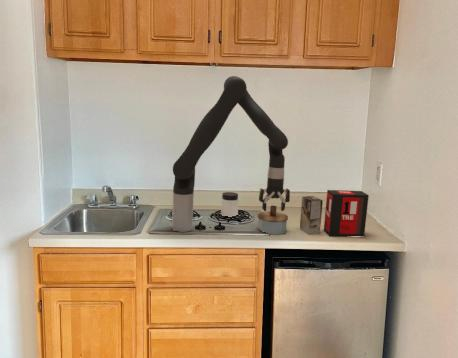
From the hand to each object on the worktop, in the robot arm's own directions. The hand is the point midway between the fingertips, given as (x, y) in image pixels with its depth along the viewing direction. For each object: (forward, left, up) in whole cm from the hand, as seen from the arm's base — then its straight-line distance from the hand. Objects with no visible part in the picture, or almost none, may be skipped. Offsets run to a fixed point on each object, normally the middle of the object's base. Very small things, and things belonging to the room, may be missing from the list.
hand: (273, 210), depth 200 cm
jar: (-16, +24, -10) cm, 30 cm away
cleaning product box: (+33, -7, -10) cm, 35 cm away
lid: (0, 0, -4) cm, 4 cm away
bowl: (0, 0, -10) cm, 10 cm away
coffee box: (+18, -2, -10) cm, 21 cm away
